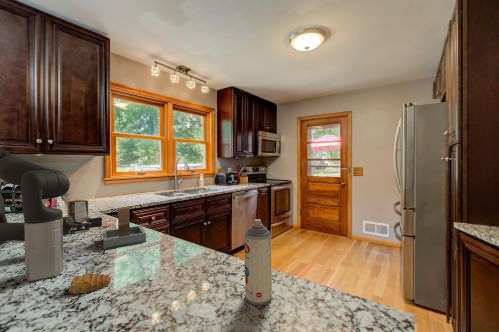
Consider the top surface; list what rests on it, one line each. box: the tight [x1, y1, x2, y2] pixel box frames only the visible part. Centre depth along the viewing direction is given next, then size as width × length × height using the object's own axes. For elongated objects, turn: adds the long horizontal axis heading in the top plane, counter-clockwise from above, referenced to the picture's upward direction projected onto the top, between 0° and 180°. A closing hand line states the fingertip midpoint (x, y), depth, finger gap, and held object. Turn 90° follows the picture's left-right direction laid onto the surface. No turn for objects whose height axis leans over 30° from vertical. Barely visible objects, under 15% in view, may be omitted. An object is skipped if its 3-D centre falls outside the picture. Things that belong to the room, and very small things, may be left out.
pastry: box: [68, 272, 111, 295], centre depth 65 cm, size 9×7×4 cm
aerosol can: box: [244, 218, 273, 307], centre depth 58 cm, size 7×7×20 cm
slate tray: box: [102, 225, 147, 251], centre depth 104 cm, size 16×16×4 cm
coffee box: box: [66, 199, 89, 234], centre depth 121 cm, size 9×6×16 cm
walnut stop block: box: [117, 206, 131, 237], centre depth 104 cm, size 4×4×14 cm
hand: (102, 221), depth 99 cm, fingers open, 8 cm apart
